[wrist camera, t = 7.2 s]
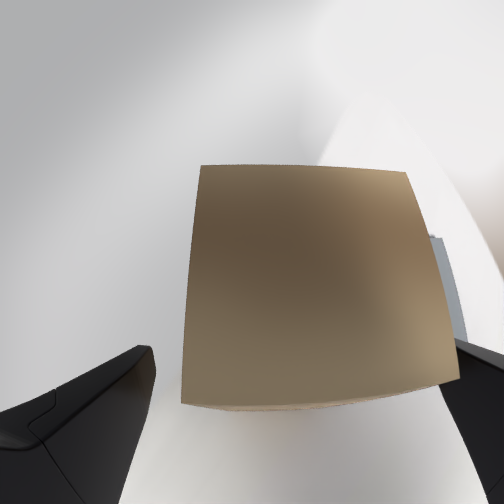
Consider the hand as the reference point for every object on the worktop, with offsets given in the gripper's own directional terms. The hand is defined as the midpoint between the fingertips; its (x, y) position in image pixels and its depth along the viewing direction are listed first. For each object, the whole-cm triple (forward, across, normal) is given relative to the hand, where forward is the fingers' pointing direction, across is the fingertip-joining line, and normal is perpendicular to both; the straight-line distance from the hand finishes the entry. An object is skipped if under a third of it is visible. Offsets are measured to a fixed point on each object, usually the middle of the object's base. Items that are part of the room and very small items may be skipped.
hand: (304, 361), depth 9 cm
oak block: (+7, 0, +5) cm, 9 cm away
